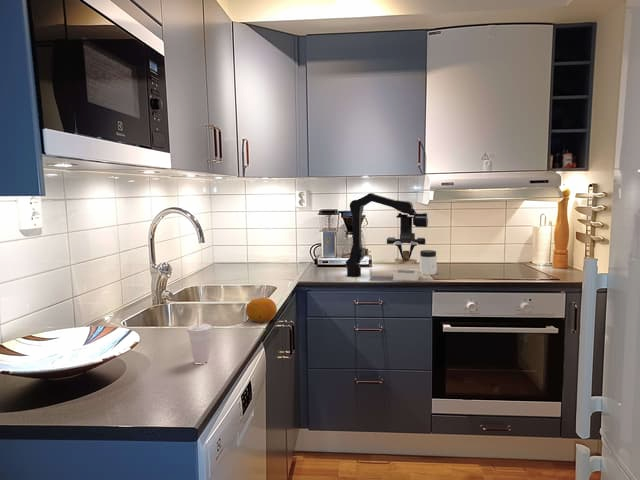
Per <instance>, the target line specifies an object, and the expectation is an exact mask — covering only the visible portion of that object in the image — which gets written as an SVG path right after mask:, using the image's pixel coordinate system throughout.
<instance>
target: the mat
mask: <svg viewBox="0 0 640 480" xmlns="http://www.w3.org/2000/svg"><path fill="white" fill-rule="evenodd" d="M369 281H380V282H381V281H383V282H384V281H385V282H386V281H389V282H390V281H391V282H392V281H393V275H392V276H388V275H385V276H384V275H371V276H370V278H369Z"/></svg>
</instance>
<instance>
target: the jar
mask: <svg viewBox="0 0 640 480" xmlns="http://www.w3.org/2000/svg"><path fill="white" fill-rule="evenodd" d="M419 253H420V255H419V273H420V274H422V275H426V276H432V275H437V268H438V267H437V263H438V261H437V260H438V259H437V251H436V250H431V249H425V250H424V249H423V250H420V251H419Z"/></svg>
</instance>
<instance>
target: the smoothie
mask: <svg viewBox="0 0 640 480" xmlns="http://www.w3.org/2000/svg"><path fill="white" fill-rule="evenodd" d="M212 327H213V326H212V325H211V324H208V323H200V315H199V311H196V323H195V324H192V325H190V326H188V327H187V331H186V332H187V334H188V338H189V342H190V347H191V353H192V359H193V364H194V363H205V362H207V361H208V362H209V356H210V355H209V354H210V342H211V334H212V333H211V331H212V330H213V328H212ZM208 362H207V363H208Z"/></svg>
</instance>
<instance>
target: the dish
mask: <svg viewBox="0 0 640 480" xmlns="http://www.w3.org/2000/svg"><path fill="white" fill-rule="evenodd" d="M392 274H393V275H392V276H393V279H392V281H394V282H419V269H416V268H415V269H411V268H410V269H407V268H405V269H404V268H393V272H392Z"/></svg>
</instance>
